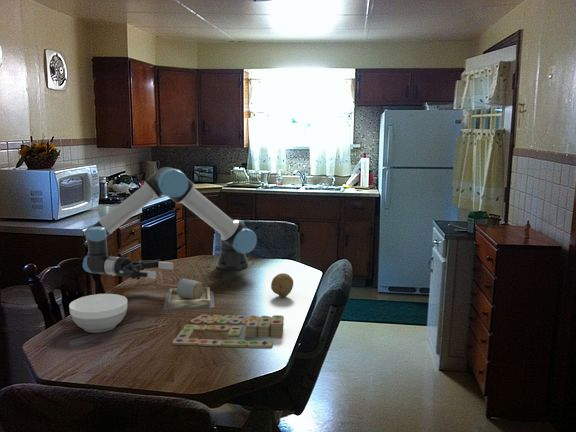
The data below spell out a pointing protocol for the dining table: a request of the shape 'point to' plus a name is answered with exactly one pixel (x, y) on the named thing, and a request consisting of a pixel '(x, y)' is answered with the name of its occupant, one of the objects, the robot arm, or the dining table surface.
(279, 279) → the natural sponge
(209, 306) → the mat
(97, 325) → the bowl
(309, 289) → the dining table surface
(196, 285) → the ceramic mug
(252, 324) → the pile of dominoes
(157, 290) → the dining table surface
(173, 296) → the tray
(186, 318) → the dining table surface
